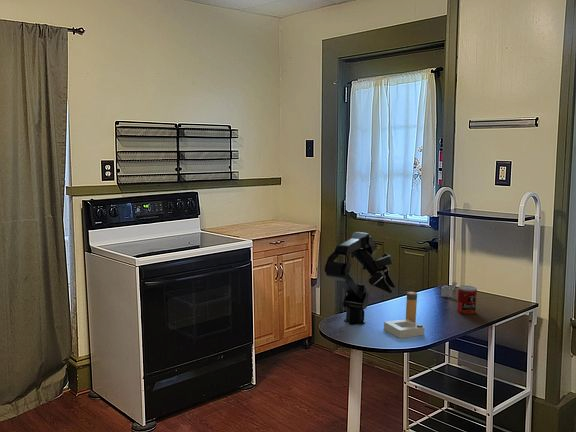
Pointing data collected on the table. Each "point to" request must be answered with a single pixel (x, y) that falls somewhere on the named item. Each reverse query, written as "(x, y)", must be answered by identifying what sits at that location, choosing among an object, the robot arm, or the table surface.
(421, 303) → the table surface
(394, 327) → the socket block
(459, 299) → the canned food
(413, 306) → the plug
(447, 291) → the lighter
